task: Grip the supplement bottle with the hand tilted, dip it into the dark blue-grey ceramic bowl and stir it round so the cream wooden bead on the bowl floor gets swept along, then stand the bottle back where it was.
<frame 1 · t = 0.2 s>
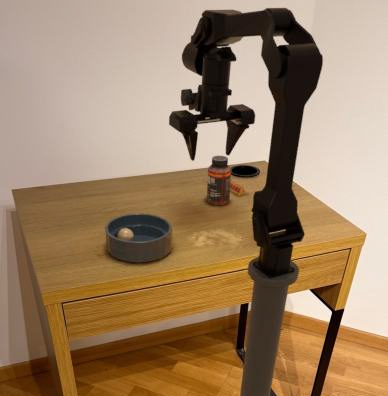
hand: (210, 157, 113), 15 cm above the table, tool pointing down, fingers open, 9 cm apart
chocolate bar: (229, 188, 138), on the table
supplement bottle: (217, 202, 130), on the table
bowl: (139, 248, 109), on the table
bead: (125, 236, 108), point 2 cm above the table, tilted 175°, touching bowl
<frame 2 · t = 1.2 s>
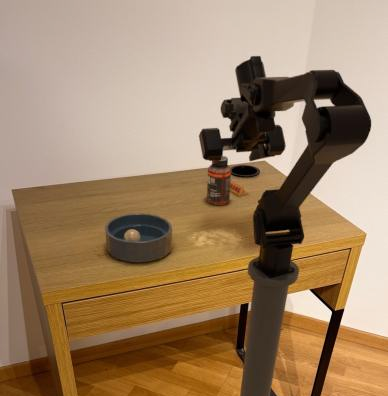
hand: (231, 160, 116), 13 cm above the table, tool tilted 45°, fingers open, 9 cm apart
bead: (132, 237, 107), point 2 cm above the table, tilted 125°, touching bowl
everything else where it was.
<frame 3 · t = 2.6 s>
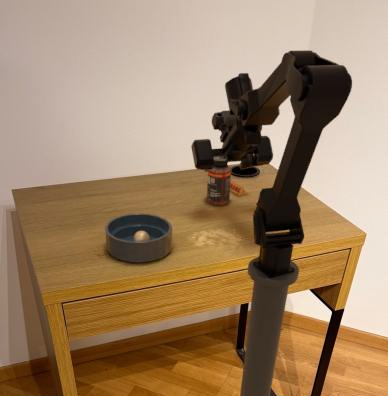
hand: (222, 168, 122), 9 cm above the table, tool tilted 45°, fingers open, 9 cm apart
bead: (141, 239, 107), point 2 cm above the table, tilted 55°, touching bowl
everything else where it was.
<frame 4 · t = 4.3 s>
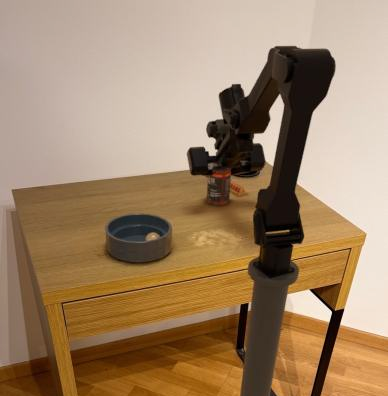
hand: (217, 174, 127), 7 cm above the table, tool tilted 45°, fingers closed on supplement bottle, 6 cm apart
supplement bottle: (217, 202, 130), on the table, touching gripper
bead: (153, 241, 106), point 2 cm above the table, tilted 30°, touching bowl
everything else where it was.
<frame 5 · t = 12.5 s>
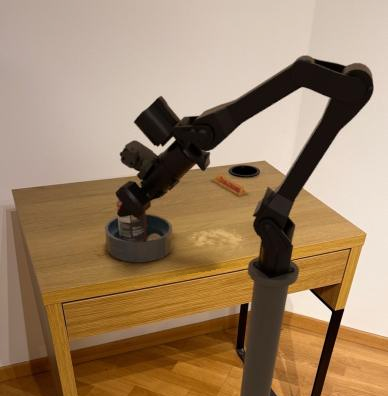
hand: (125, 209, 104), 8 cm above the table, tool tilted 45°, fingers closed on supplement bottle, 6 cm apart
supplement bottle: (133, 240, 108), point 2 cm above the table, touching gripper
bead: (154, 242, 106), point 2 cm above the table, tilted 45°, touching bowl
everything else where it was.
when the fingers open (7 cm above the table, at t = 22.9 s): supplement bottle stays where it is, on the table.
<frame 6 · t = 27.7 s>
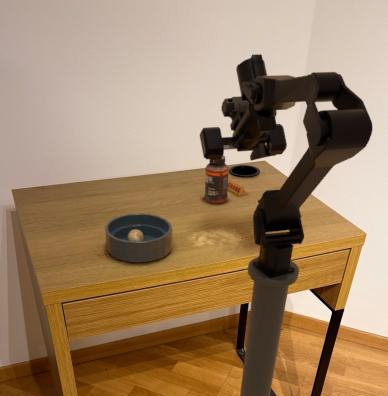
hand: (232, 159, 115), 14 cm above the table, tool tilted 45°, fingers open, 9 cm apart
supplement bottle: (215, 200, 131), on the table
bead: (135, 237, 107), point 2 cm above the table, tilted 115°, touching bowl
everything else where it was.
at the end: bead moved 2.6 cm from its start; bead inside the target area in the bowl (0.9 cm from its centre), point 2.3 cm above the bowl's base; supplement bottle tilted 1° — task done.
